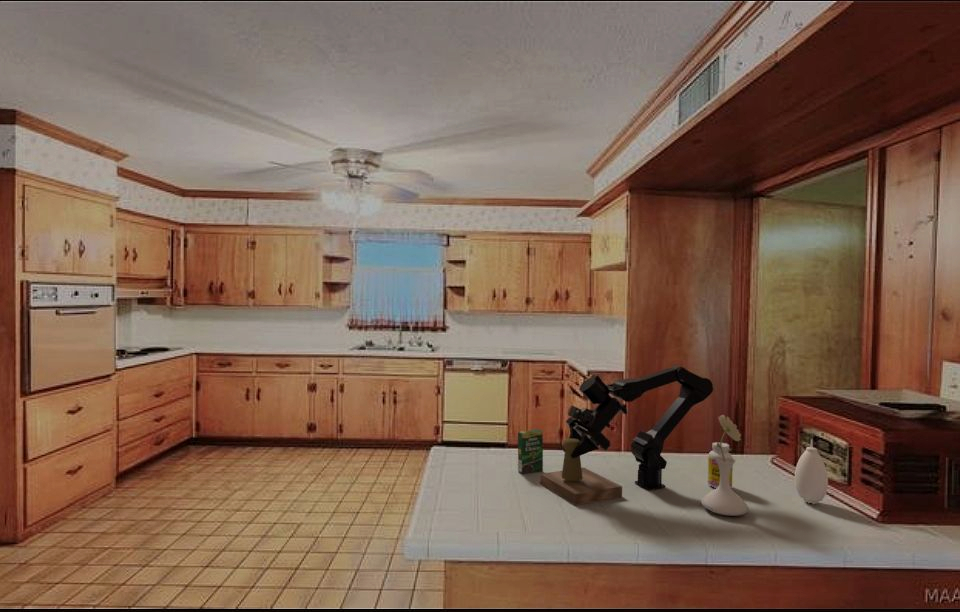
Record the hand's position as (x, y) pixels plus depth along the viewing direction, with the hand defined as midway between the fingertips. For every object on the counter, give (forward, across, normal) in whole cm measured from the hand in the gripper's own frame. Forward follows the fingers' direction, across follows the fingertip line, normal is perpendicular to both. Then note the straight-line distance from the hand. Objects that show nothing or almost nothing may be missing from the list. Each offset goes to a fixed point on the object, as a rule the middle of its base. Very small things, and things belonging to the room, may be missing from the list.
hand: (567, 454), depth 149 cm
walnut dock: (+5, -1, +10) cm, 12 cm away
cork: (+4, 0, +6) cm, 7 cm away
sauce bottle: (-36, +22, +53) cm, 68 cm away
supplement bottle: (-25, +5, +41) cm, 49 cm away
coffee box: (+11, -19, +4) cm, 23 cm away
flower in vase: (-17, +21, +33) cm, 43 cm away
